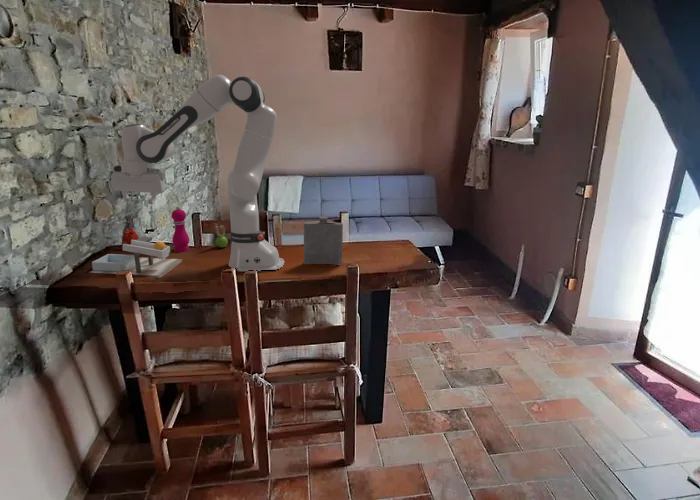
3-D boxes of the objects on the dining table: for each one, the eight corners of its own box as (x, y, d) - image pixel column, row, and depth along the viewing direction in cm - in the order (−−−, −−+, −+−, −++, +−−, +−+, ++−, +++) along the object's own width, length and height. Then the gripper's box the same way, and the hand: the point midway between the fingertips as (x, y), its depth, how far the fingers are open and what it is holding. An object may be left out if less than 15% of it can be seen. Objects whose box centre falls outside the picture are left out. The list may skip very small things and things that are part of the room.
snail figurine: (212, 248, 203) (210, 223, 200) (220, 245, 209) (219, 220, 205) (221, 250, 201) (220, 224, 198) (230, 246, 207) (229, 221, 204)
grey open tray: (135, 263, 177) (134, 255, 176) (120, 272, 167) (119, 263, 166) (109, 262, 178) (108, 254, 177) (93, 271, 168) (91, 262, 167)
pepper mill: (184, 252, 196) (180, 208, 190) (169, 251, 197) (165, 207, 192) (193, 248, 203) (190, 205, 197) (179, 247, 204) (175, 204, 198)
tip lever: (180, 247, 183) (181, 239, 182) (161, 260, 167) (161, 251, 166) (143, 241, 183) (143, 233, 182) (120, 253, 167) (120, 244, 166)
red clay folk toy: (118, 249, 198) (114, 216, 193) (132, 246, 204) (128, 214, 199) (130, 252, 194) (126, 219, 190) (144, 248, 200) (140, 216, 196)
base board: (182, 261, 184) (180, 241, 182) (159, 278, 165) (157, 256, 163) (118, 258, 186) (116, 239, 183) (89, 275, 166) (85, 253, 164)
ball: (166, 251, 172) (167, 241, 170) (161, 254, 168) (162, 244, 167) (156, 248, 172) (157, 239, 170) (151, 251, 168) (152, 241, 167)
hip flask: (303, 264, 184) (303, 217, 179) (304, 261, 188) (304, 215, 183) (341, 265, 185) (343, 218, 179) (342, 262, 188) (343, 216, 183)
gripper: (167, 168, 174) (169, 203, 178) (116, 165, 175) (120, 200, 179) (159, 169, 168) (161, 206, 172) (107, 167, 169) (110, 203, 173)
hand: (140, 203), depth 175 cm, fingers open, 8 cm apart
